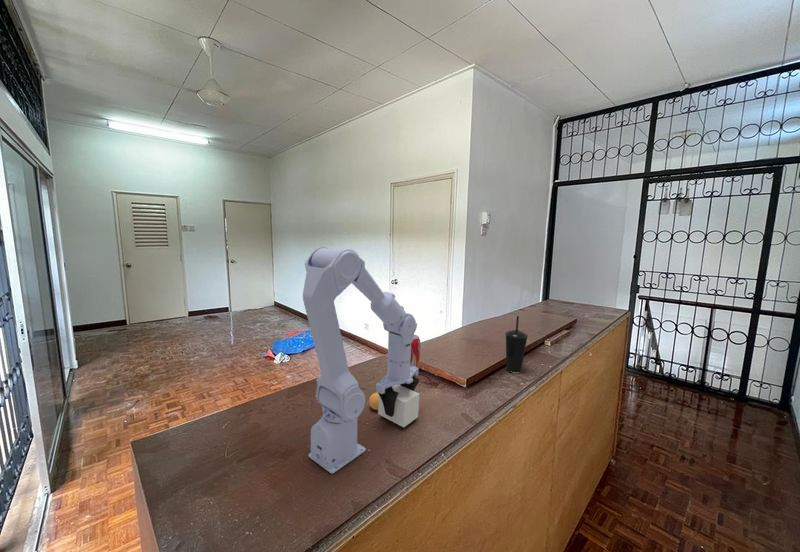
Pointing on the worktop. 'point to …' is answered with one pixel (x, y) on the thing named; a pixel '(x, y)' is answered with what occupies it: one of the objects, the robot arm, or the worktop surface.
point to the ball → (374, 401)
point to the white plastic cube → (402, 406)
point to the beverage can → (415, 351)
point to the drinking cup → (515, 348)
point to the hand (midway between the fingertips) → (397, 409)
